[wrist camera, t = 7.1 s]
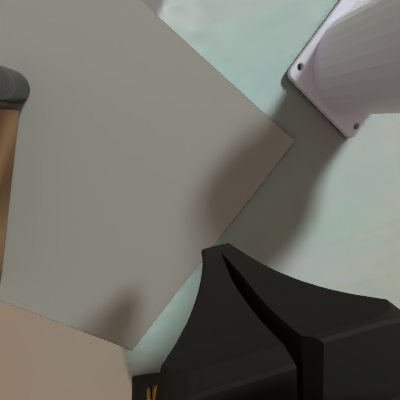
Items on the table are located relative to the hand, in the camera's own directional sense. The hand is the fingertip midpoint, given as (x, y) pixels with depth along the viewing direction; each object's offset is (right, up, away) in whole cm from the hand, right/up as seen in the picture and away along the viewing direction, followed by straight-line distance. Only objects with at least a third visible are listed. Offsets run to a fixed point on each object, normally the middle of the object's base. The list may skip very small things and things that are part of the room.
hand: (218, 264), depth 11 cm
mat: (-9, +4, +7) cm, 12 cm away
